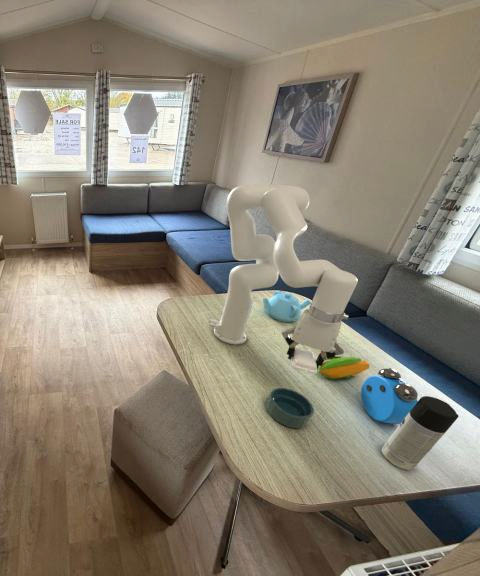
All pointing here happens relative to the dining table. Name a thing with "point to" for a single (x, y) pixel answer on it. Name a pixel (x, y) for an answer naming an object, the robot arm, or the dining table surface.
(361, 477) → the dining table surface
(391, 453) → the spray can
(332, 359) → the corn
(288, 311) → the teapot
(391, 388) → the alarm clock
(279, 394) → the bowl
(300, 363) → the soap
